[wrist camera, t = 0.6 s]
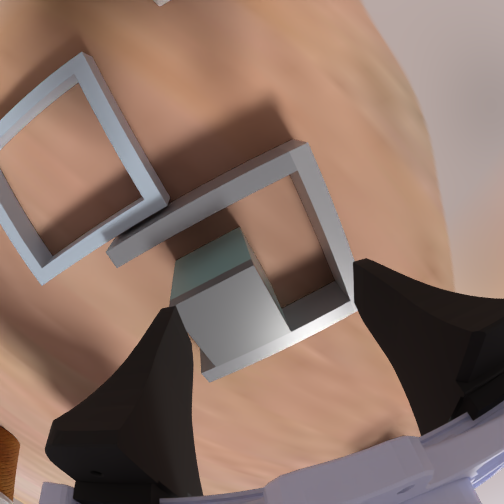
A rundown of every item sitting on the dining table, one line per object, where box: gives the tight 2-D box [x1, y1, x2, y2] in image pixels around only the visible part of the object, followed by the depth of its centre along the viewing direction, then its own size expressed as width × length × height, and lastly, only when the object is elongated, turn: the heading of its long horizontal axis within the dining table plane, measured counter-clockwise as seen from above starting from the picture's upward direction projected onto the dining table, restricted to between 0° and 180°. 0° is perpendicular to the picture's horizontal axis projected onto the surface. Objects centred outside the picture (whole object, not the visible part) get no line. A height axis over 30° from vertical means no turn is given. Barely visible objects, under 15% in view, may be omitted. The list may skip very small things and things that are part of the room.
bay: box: [106, 139, 358, 382], centre depth 21 cm, size 13×12×3 cm
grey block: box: [169, 227, 291, 367], centre depth 20 cm, size 5×5×6 cm
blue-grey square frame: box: [0, 52, 170, 285], centre depth 17 cm, size 11×11×2 cm
